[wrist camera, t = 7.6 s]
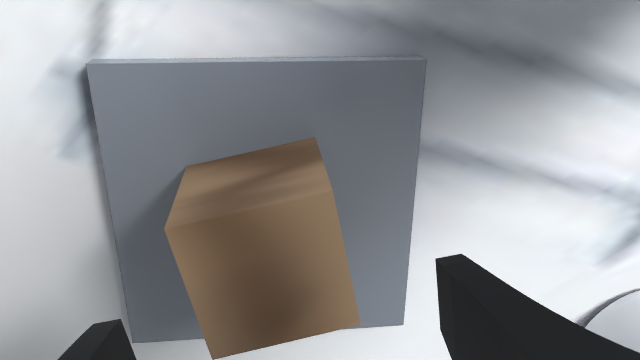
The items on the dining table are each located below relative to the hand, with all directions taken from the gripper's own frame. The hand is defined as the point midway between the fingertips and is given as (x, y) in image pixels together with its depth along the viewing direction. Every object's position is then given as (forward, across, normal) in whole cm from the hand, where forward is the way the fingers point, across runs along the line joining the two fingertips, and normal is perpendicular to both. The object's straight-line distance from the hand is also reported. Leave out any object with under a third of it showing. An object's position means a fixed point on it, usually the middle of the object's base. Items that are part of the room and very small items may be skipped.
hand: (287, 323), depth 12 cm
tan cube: (+9, +1, +1) cm, 9 cm away
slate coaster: (+10, +1, +2) cm, 10 cm away
